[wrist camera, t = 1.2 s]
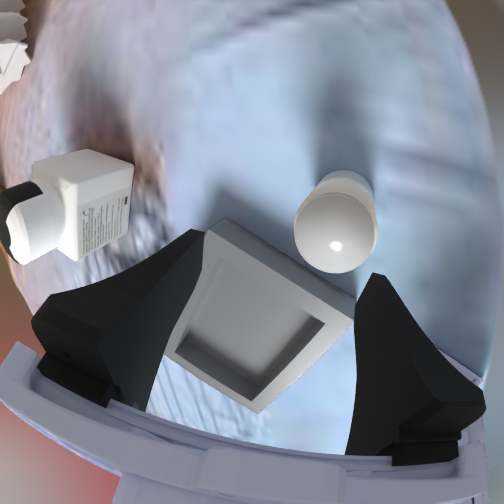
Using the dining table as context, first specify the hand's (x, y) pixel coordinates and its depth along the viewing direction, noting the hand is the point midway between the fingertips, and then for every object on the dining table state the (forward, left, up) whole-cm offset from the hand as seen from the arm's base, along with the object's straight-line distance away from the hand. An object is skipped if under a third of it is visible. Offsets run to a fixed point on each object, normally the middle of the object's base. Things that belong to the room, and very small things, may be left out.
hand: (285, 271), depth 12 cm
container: (+20, +10, -11) cm, 25 cm away
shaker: (-1, -1, -11) cm, 11 cm away
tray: (0, +14, -11) cm, 18 cm away
